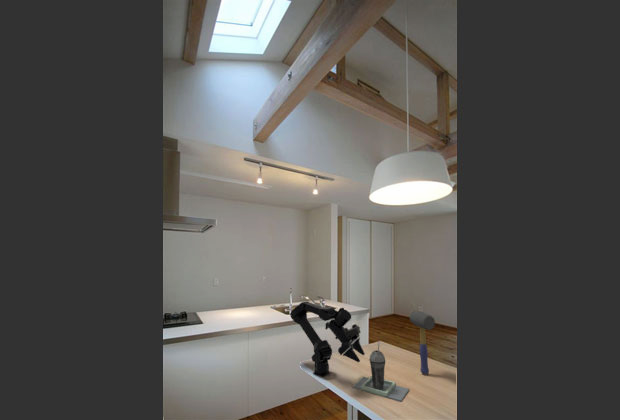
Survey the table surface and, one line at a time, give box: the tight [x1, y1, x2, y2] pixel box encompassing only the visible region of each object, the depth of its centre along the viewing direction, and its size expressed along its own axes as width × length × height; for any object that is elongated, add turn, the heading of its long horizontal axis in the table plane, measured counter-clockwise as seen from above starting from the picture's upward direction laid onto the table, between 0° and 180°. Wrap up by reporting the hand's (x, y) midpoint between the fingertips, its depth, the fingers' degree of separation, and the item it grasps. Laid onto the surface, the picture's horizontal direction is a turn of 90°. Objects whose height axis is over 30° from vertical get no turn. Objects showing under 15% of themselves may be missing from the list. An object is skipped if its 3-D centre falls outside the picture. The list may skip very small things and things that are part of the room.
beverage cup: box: [368, 340, 386, 390], centre depth 132 cm, size 7×7×20 cm
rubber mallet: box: [409, 310, 436, 376], centre depth 147 cm, size 12×8×30 cm, turn 16°
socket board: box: [352, 375, 410, 403], centre depth 130 cm, size 22×12×2 cm, turn 56°
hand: (361, 358), depth 135 cm, fingers open, 9 cm apart
